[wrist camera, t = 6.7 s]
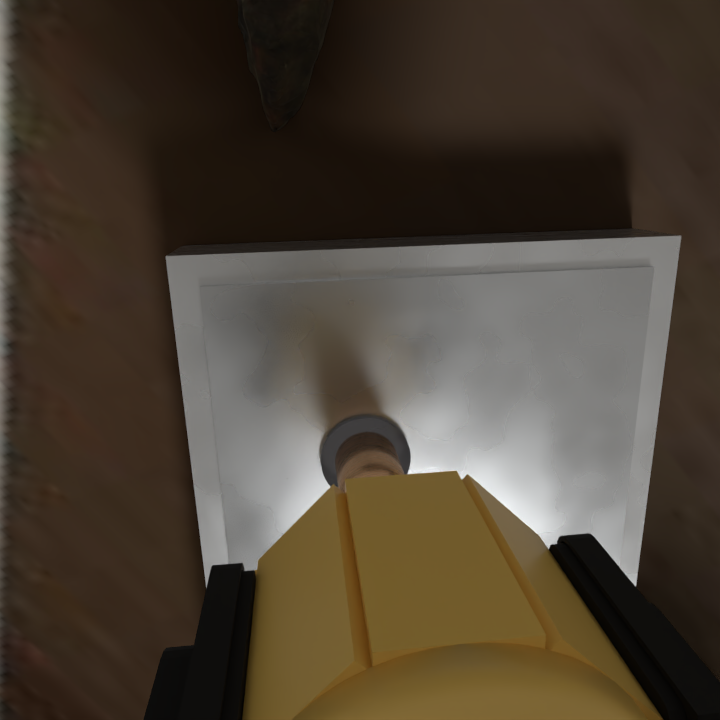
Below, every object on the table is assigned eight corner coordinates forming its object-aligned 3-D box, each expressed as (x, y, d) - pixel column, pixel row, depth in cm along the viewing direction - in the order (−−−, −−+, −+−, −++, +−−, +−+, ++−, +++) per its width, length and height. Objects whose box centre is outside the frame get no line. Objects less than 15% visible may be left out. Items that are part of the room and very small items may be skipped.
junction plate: (589, 639, 24) (682, 786, 18) (232, 675, 22) (210, 846, 17) (632, 228, 19) (778, 250, 13) (183, 245, 18) (128, 277, 12)
